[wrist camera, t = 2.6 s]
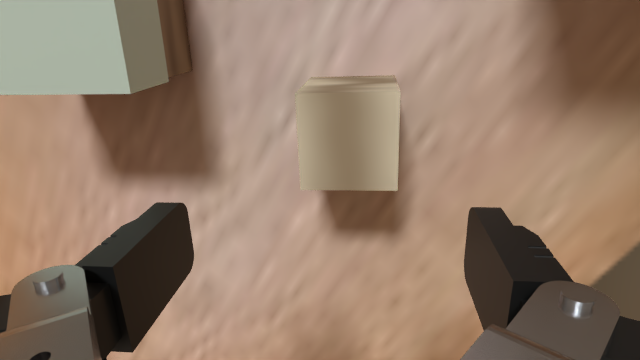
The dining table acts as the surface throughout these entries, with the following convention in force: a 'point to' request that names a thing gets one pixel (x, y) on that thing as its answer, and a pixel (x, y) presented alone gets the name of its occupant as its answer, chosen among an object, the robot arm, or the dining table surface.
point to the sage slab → (80, 47)
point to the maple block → (348, 133)
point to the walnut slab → (174, 36)
